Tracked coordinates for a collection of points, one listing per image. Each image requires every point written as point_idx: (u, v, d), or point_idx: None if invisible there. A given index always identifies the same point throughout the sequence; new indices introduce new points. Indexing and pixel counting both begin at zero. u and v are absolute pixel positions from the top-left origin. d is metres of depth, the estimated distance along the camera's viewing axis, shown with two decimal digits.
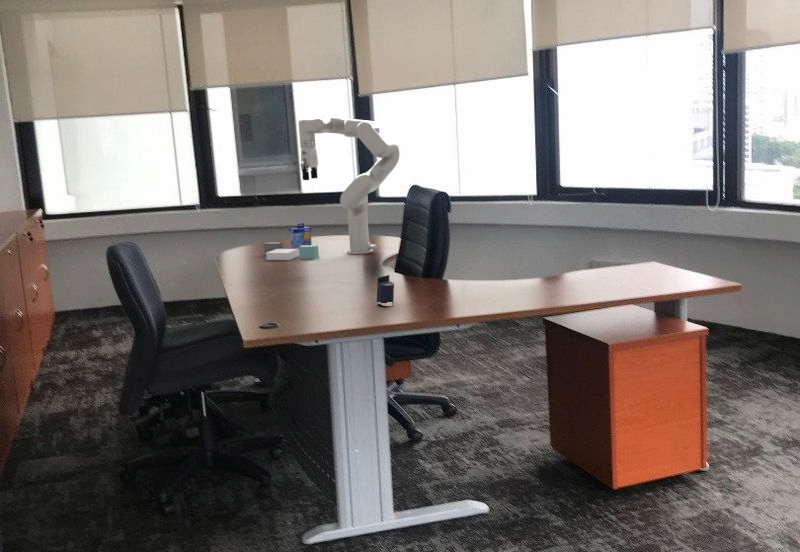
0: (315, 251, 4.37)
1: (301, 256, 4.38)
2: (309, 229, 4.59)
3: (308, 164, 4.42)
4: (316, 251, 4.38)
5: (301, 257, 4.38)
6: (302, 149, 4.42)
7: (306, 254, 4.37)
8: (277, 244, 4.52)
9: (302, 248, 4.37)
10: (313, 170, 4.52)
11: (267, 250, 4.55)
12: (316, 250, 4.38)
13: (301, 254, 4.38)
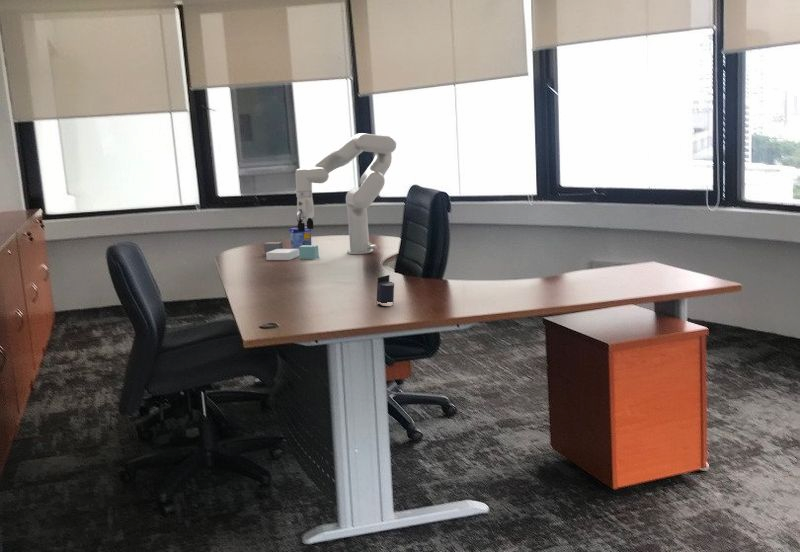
0: (315, 251, 4.37)
1: (301, 256, 4.38)
2: (309, 229, 4.59)
3: (304, 215, 4.30)
4: (316, 251, 4.38)
5: (301, 257, 4.38)
6: (298, 200, 4.30)
7: (306, 254, 4.37)
8: (277, 244, 4.52)
9: (302, 248, 4.37)
10: (309, 220, 4.41)
11: (267, 250, 4.55)
12: (316, 250, 4.37)
13: (301, 254, 4.38)
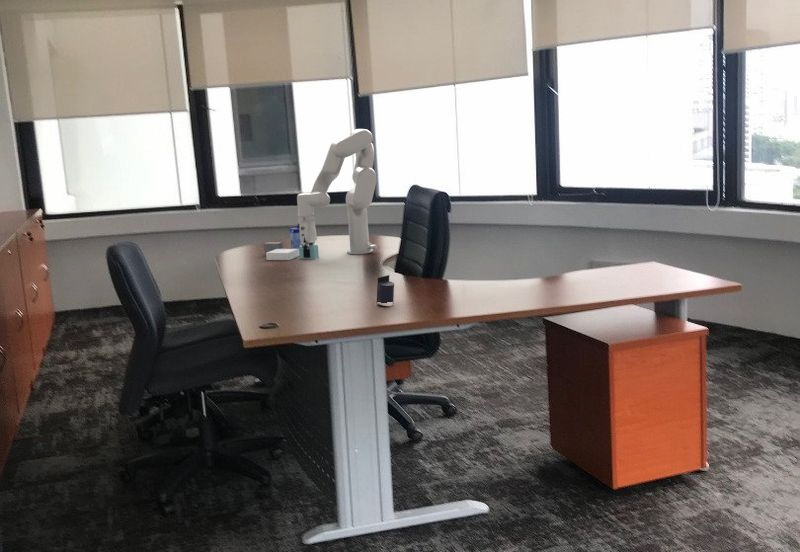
0: (315, 251, 4.37)
1: (301, 256, 4.38)
2: None
3: (307, 240, 4.32)
4: (316, 251, 4.37)
5: (301, 257, 4.38)
6: (301, 224, 4.33)
7: None
8: (277, 244, 4.52)
9: (302, 248, 4.37)
10: None
11: (267, 250, 4.55)
12: (316, 250, 4.37)
13: (301, 254, 4.38)
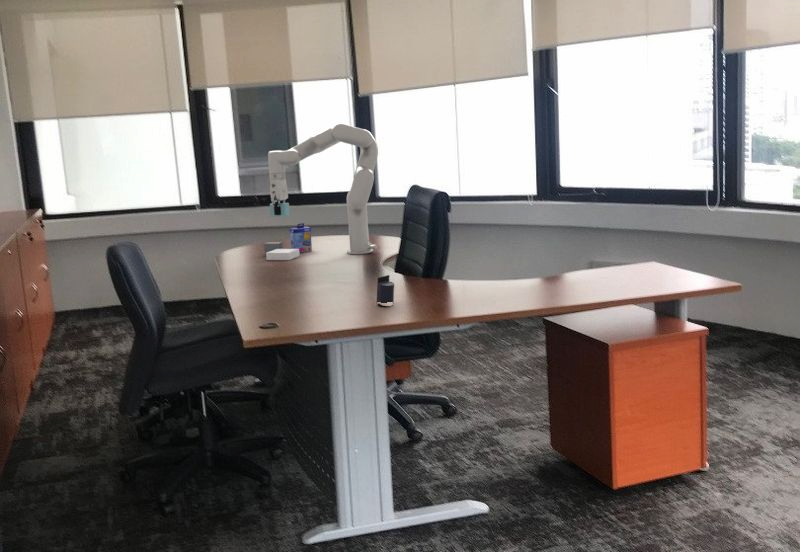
0: (286, 209, 4.38)
1: (272, 213, 4.39)
2: (309, 229, 4.59)
3: (277, 197, 4.33)
4: (287, 208, 4.38)
5: (272, 214, 4.39)
6: (271, 182, 4.33)
7: None
8: (277, 244, 4.52)
9: None
10: None
11: (267, 250, 4.55)
12: (287, 207, 4.38)
13: (272, 211, 4.39)
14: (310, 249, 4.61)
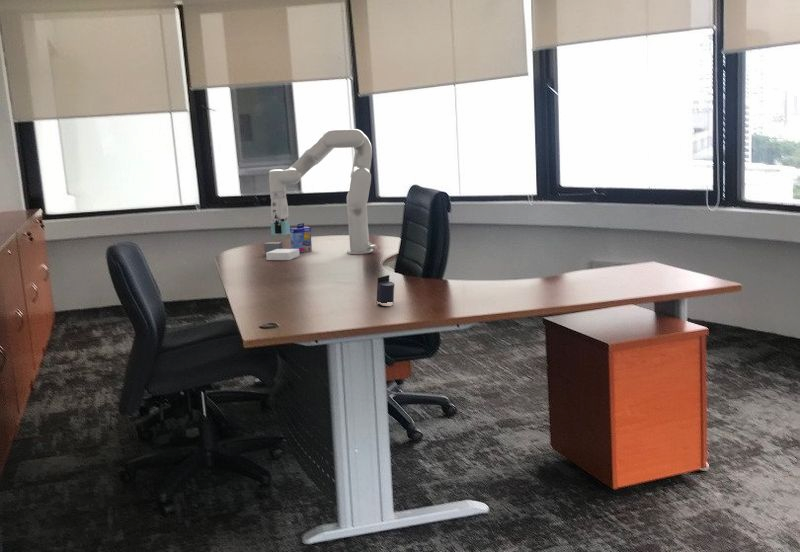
0: (287, 227, 4.39)
1: (272, 232, 4.41)
2: (309, 229, 4.59)
3: (278, 216, 4.35)
4: (287, 227, 4.40)
5: (272, 233, 4.41)
6: (272, 200, 4.35)
7: None
8: (277, 244, 4.52)
9: (273, 224, 4.40)
10: None
11: (267, 250, 4.55)
12: (287, 226, 4.40)
13: (272, 230, 4.40)
14: (310, 249, 4.61)
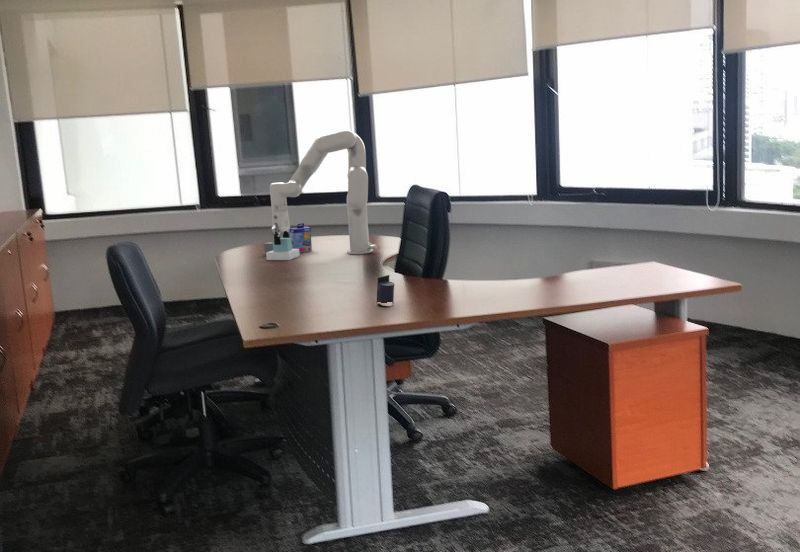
0: (289, 244, 4.41)
1: (274, 249, 4.42)
2: (309, 229, 4.59)
3: (279, 229, 4.36)
4: (289, 244, 4.42)
5: (274, 250, 4.42)
6: (273, 213, 4.36)
7: (280, 247, 4.41)
8: None
9: None
10: (285, 233, 4.46)
11: (267, 250, 4.55)
12: (289, 243, 4.42)
13: (274, 247, 4.42)
14: (310, 249, 4.61)
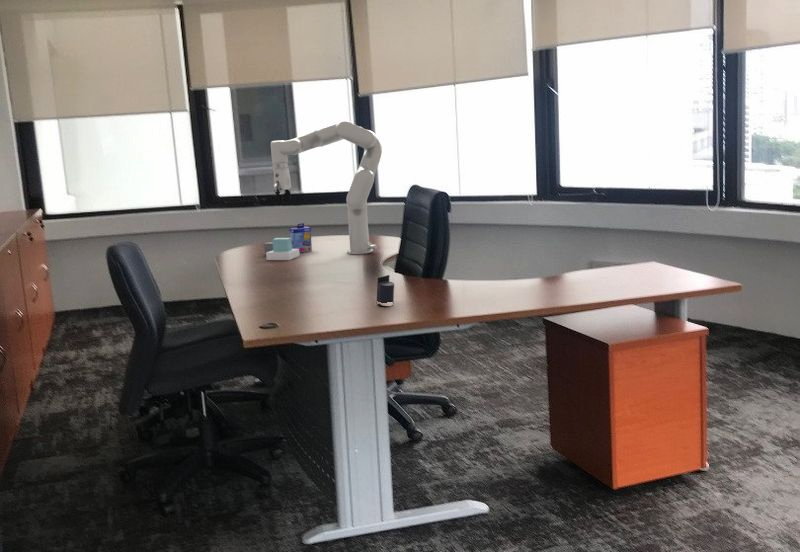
0: (289, 244, 4.41)
1: (274, 249, 4.42)
2: (309, 229, 4.59)
3: (281, 186, 4.35)
4: (289, 244, 4.42)
5: (274, 250, 4.42)
6: (275, 171, 4.36)
7: (280, 247, 4.41)
8: None
9: (275, 241, 4.41)
10: (286, 192, 4.46)
11: (267, 250, 4.55)
12: (289, 243, 4.42)
13: (274, 247, 4.42)
14: (310, 249, 4.61)
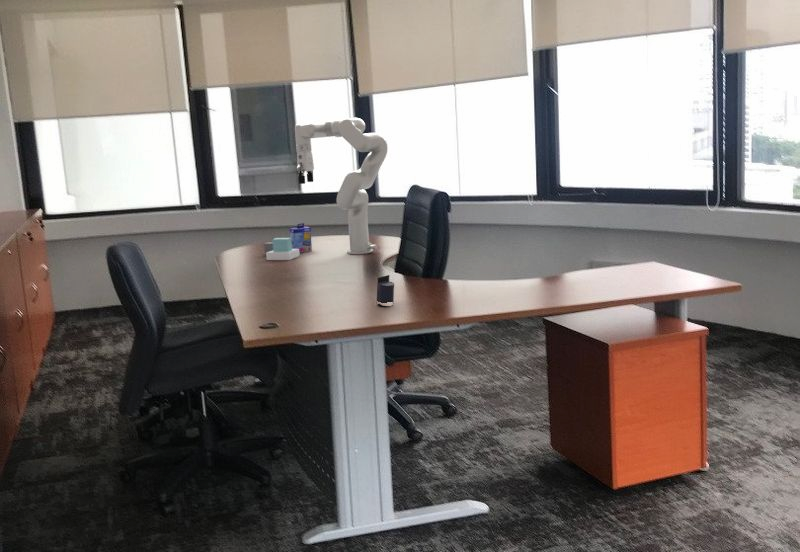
0: (289, 244, 4.41)
1: (274, 249, 4.42)
2: (309, 229, 4.59)
3: (304, 168, 4.52)
4: (289, 244, 4.42)
5: (274, 250, 4.42)
6: (298, 153, 4.52)
7: (280, 247, 4.41)
8: None
9: (275, 241, 4.41)
10: (309, 174, 4.62)
11: (267, 250, 4.55)
12: (289, 243, 4.42)
13: (274, 247, 4.42)
14: (310, 249, 4.61)
